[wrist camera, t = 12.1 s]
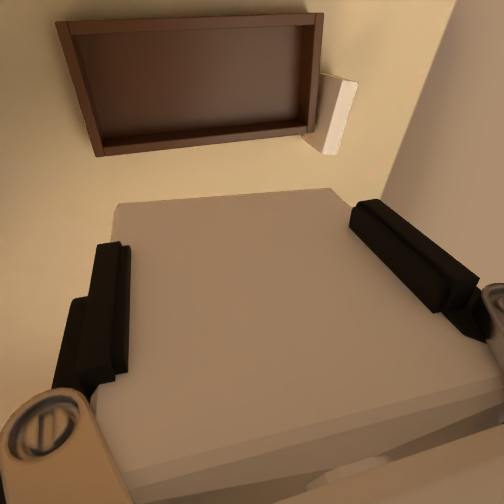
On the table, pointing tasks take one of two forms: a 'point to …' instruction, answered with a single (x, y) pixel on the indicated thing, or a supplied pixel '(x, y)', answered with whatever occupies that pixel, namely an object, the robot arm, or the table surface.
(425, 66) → the table surface
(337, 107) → the eraser
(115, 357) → the robot arm
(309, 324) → the perfume bottle
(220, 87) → the tray
